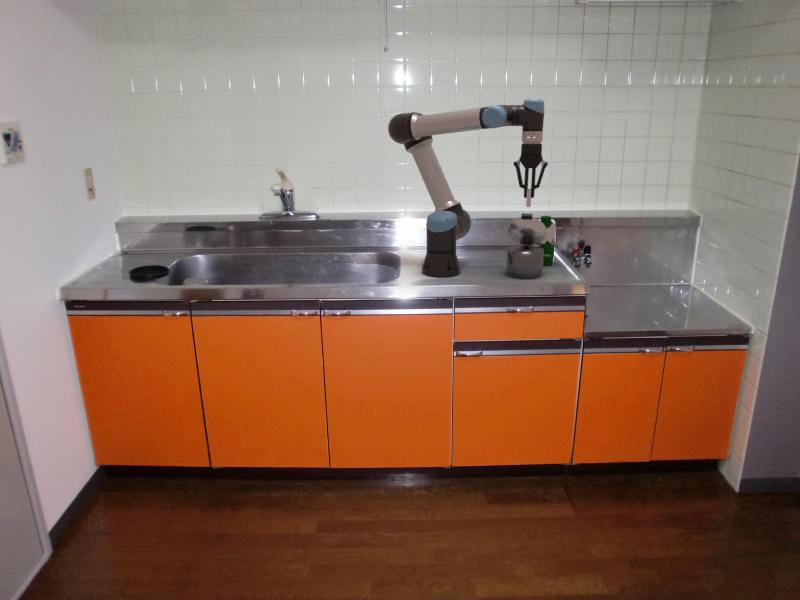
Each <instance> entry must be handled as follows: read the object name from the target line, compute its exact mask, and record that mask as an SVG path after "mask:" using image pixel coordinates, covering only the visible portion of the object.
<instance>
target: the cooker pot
mask: <svg viewBox="0 0 800 600" xmlns="http://www.w3.org/2000/svg"><path fill="white" fill-rule="evenodd" d="M543 256H544V249H542V248H540V247H536V246H533V245H522V244H519V245H510V246H508V247H507V249H506V257H505V258H506V263H505V275H506V276H507V277H509V278H514V279H519V280H535V279H539V278H542V277H543V269H544V268H543V267H544V265H543Z"/></svg>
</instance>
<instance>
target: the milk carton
mask: <svg viewBox="0 0 800 600" xmlns="http://www.w3.org/2000/svg"><path fill="white" fill-rule="evenodd" d="M537 219H538V220H540V221H541V222H542V223H543V224H544V225H545V227H546V236H545V238H544V239H543V240H542V241H541V242H540V243H537V244H534V245H532V246H536V247H540V248H542V249H544V256H543V266H553V261H554V256H555V244H556V229H557V228H556V227H557V223H556V221H555V219H553V218H552V216H550V215H541V217H540V218H537Z"/></svg>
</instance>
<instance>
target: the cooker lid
mask: <svg viewBox="0 0 800 600" xmlns="http://www.w3.org/2000/svg"><path fill="white" fill-rule="evenodd" d="M533 216H534V215H533V213H521V217H518V218H515V219H513V220H512V221H511V222H510V223H509V225H508V227H507V235H508V236H509V238H510V239H511V240H512V241H513V242H515V243H517V244H519V245H529V246H533V245H534V244H537V243H540V242H541V241H542V240H543V239H544V238H545V236H546V227H545V225H544V224H543V223H542V222H541V221H540V220H538V219H539V218H535V217H533Z"/></svg>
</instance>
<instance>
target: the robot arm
mask: <svg viewBox="0 0 800 600" xmlns="http://www.w3.org/2000/svg"><path fill="white" fill-rule="evenodd" d="M544 121H545V101H544V100H543V99H541V98H540V99H538V98H536V99H535V98H534V99H526V98H525V99H524V100H523V104H515V105H514V104H494V105H490V106H484V107H476V108H467V109H461V110H455V111H453V110H451V111H447V112H446V111H445V112H439V113H431V114H422V113H420V112H416V111H411V112H402V113H398V114H396V115H394V116H393V117H392V118H391V119H390V121H389V122H388V126H387V130H388V135H389V137H390V138H391V140H392V141H394V142H395V143H397V144H400V145H403V146H404V149H405V150H406V153H409V154H411V156H412V158H413V160H414V162H415V164H416V166H417V169H418V171H419V174H420V176H421V178H422V181H423V182H424V185H425V188H426V190H427V193H428V195H429V197H430V199H431V201H432V203H433V206H434V208H435V209H434V212H431V213H430V214H429V215H427V217H426V223H425V225H426V254H425V257H424V260H423V262H422V266H421V267H422V268H421V273H422V274H423V275H425V276H429V277H435V278H449V277H450V278H451V277H455V276H457V275H459V274H461V265H460V262H459V259H458V255H457V241H458V240H460V239H462V238H465V236H466V235H467V234H469V232H470V230H471V228H472V225H473V224H472V218H471V215H470V213H469V212H467V210H465V209H464V208H463V205H462V203H461V202H460V201H458V200H456V199H455V197H454V195H453V192H452V190H451V188H450V186H449V183H448V181H447V178H446V177H445V173H444V172H443V169H442V167H441V165H440V162H439V159H438V157H437V155H436V153H435V151H434V148H433V146H432V144H433V141H434V138H433V136H439V135H445V134H455V133H461V132H468V131H469V132H471V131H479V130H488V129H498V128H503V127H522V129H521V142H522V143H521V147H520V148H521V149H520V157H519V159H518V160H516V161H514V162H513V166H514V167H515V170H516V176H517V180H518V186H519V188H521V189H523V197H524V199H526V205H525V207H526V208H531V204H532V199H534V198H535V190H537V189H539V188H540V186H541V183H542V180H543V176H544V174H545V173H544V172H545V169H546V168H547V166H548V164H549V162H548V161H546V160H544V159H543V156H542V155H543V154H542V153H543V144H542V142H543V140H544ZM521 164H522V166H523V167H524V182H523V177H522V172H521V167H520V166H521ZM540 164H541V165H540ZM539 166H541V169H540V173H539V176H538V179H537V182H536V173H537V168H538V167H539ZM530 169H531V186H530V188H529V173H530Z"/></svg>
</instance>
